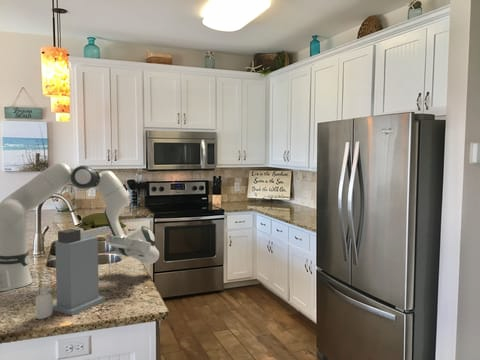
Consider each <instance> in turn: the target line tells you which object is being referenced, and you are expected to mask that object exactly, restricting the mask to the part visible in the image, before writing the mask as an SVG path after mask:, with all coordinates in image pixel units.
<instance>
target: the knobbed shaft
mask: <svg viewBox="0 0 480 360" xmlns="http://www.w3.org/2000/svg"><path fill="white" fill-rule="evenodd" d="M110 232H111V229H110V227H109V226H100V227H93V228H92V229H89V230H85V229H84V230H81V229H75V228H67V229H64V230H59V231H57V241H58V242H61V243H67V244H68V243H72V242H76V241H80V240H81V239H85V238H89V237H98V236H101V235H107V234H109V233H110Z"/></svg>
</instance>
